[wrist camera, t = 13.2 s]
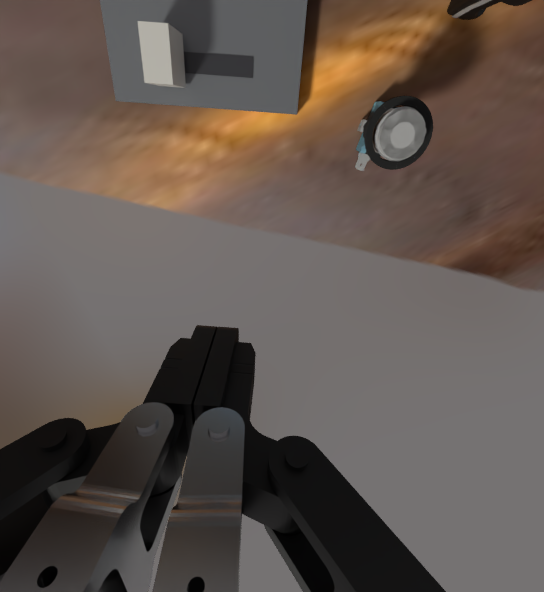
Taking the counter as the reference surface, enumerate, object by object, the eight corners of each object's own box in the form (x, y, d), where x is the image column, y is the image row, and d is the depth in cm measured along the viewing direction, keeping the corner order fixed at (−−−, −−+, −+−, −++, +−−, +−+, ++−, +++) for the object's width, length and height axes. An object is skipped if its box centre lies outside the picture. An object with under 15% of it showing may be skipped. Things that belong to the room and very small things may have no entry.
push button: (377, 175, 36) (407, 195, 27) (334, 160, 35) (350, 175, 26) (407, 110, 32) (452, 109, 24) (359, 91, 32) (387, 84, 23)
